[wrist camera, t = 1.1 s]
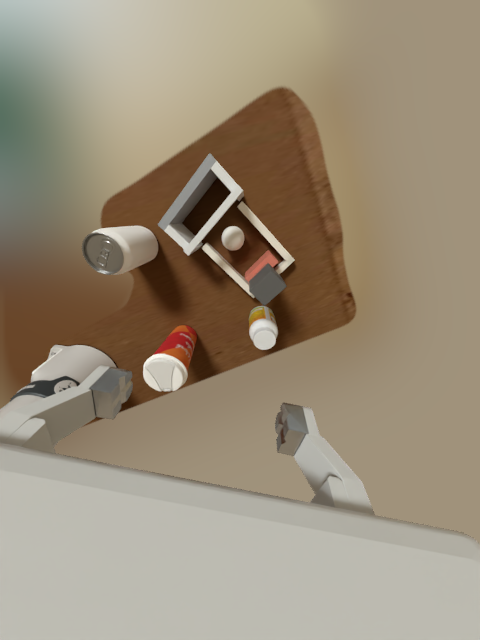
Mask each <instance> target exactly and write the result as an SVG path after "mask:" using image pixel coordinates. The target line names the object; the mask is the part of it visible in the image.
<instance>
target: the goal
mask: <svg viewBox="0 0 480 640" xmlns="http://www.w3.org/2000/svg"><path fill="white" fill-rule="evenodd" d="M217 177H218V179H219V180H220V181H221V182H222V183H223V184H224V185H225V186H226V188H227V189H228V190H229V191H230V192H231V193H230V195H229V196H228V197H227V198H226V200H225V201H224V202H223V203H222V204H221V206H220V207H219V208H218V209H217V210H216V212H215V213H214V214H213V215H212V217H211V218H210V219H209V220H208V221H207V223H206V224H205V225H204V226H203V228H202V229H201V230H200V231H199V232H198V234H197V235H196V236H195V235H194V234H193V233H192V232H191V231H189V230H188V229H187V228H186V227H185V226H184V225H183V224H182V223H183V221H184V220H185V219H186V217H187V216H188V215H189V213H190V212H191V211H192V210H193V208H194V207H195V206H196V204H197V203H198V202H199V201H200V199H201V198H202V197H203V195H204V194H205V193H206V191H207V190H208V189H209V188H210V186H211V185H212V184H213V182H214V181H215V180H216V179H217ZM243 197H244V193H243V190H242V189H241V188H240V186H239V185H237V184H236V182H235V181H234V180H233V179H232V178H231V177H230V176H229V174H228V173H227V172H226V171H225V170H224V169H223V168H222V166H221V165H220V164H219V163H218V162H217V161H216V160H215V158H214V157H213V156H212V155H211V154H210V153H209V155H208V156H207V157H206V159H205V160H204V161H203V163H202V164H201V166H200V167H199V168H198V170H197V171H196V172H195V174H194V175H193V177H192V178H191V179H190V181H189V182H188V184H187V185H186V186H185V188H184V189H183V190H182V192H181V193H180V195H179V196H178V197H177V199H176V200H175V201H174V203H173V204H172V206H171V207H170V208H169V210H168V211H167V212H166V214H165V215H164V217H163V218H162V219H161V221H160V222H159V223H158V225H159V226H160V227H161V228H162V229H163V230H164V231H165V232H166V233H167V234H168V235H169V236H170V237H172V238H173V239H174V240H175V241H176V242H177V243H178V244H179V245H180V246H181V247H182V248H183V249H184V252H185V253H186V254H187V255H188V256H189V255H190V254H192V253H193V252H195V251H196V250H198V249H199V248H200V247H201V246H202V245H203V243H202V242H201V241H202V240H203V239H204V237H205V236H206V235H207V234H208V233H209V231H210V230H211V229H212V228H213V227H214V226H215V224H216V223H217V222H218V221H219V220H220V218H221V217H222V216H223V215H224V214H225V212H226V211H227V210H228V209H229V208H230V207H231V205H232V204H233V203H234V202H235V201H236V199H237V200H238V201H240V200H241V199H242V198H243Z"/></svg>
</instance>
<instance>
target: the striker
mask: <svg viewBox="0 0 480 640" xmlns="http://www.w3.org/2000/svg"><path fill="white" fill-rule="evenodd" d="M277 263H278V261H277V259H276V258H275V257H274V255H273V254H272V253H271V252H270V251H269V250H267V251H266V252H265V253H264V254H263V255H262V256H261V257H260V258H259V259H258V260H257V261H256V262H255V263H254V264H253V265H252V266H251V267H250V268H249V269H248V270H247V271H246V272H245V279H246V280H247V281H248V282H249V292H250V293H252V294H253V295H254V296H255V297H256V298H257V299H258V300H259V301H260V302H261V303H262V304H263V305H264V306H265V305H266V304H267V303H268V302H270V301H271V300H272V299H273V298H274V297H275V296H276V295H277V294H279V293H280V292H281V291H282V290H283V289H284V288H285V287H287V286H286V284H285V282H284V281H283V279H282V277H281V276H280V275H279V274H278V273H277V272H276V270H275V269H274V268H273V267H274V266H275V265H276V264H277Z"/></svg>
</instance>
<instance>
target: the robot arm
mask: <svg viewBox="0 0 480 640" xmlns="http://www.w3.org/2000/svg"><path fill="white" fill-rule="evenodd" d="M32 374H33V375H32V377H31V383H30V384H28V385H27V386H26V387H24V388H22V389H21V390H19V391H18V392H17V394H16V395H14V396H13V397H12V398H11V400H10V402H9V403H8V404H7V405H5V406H4V407H3V408H1V409H0V640H480V543H479V542H477V541H476V540H475V539H474V538H472V537H471V536H469V535H467V534H464V533H462V532H458V531H454V530H449V529H444V528H438V527H433V526H428V525H423V524H418V523H413V522H407V521H402V520H397V519H392V518H386V517H381V516H376V515H375V514H374V511H373V509H372V506H371V504H370V501H369V499H368V496H367V494H366V491H365V489H364V486H363V484H362V482H361V480H360V479H359V478H358V477H357V476H356V475H355V473H354V472H353V471H352V470H351V469H350V468H349V467H348V465H347V464H346V463H345V462H344V461H343V460H342V458H341V457H340V456H339V455H338V454H337V453H336V452H335V450H334V449H333V448H332V447H331V446H330V445H329V443H328V442H327V441H326V440H325V439H324V438H323V437H321V436H320V435H319V431H318V428H317V425H316V421H315V418H314V414H313V411H312V409H311V408H308V407H303V406H298V405H293V404H287V403H283V404H282V405H281V412H279V413H278V415H277V418H276V423H275V424H276V425H275V429H276V433H277V434H278V437H277V450H278V453H282V454H287V455H291V456H294V458H295V460H296V462H297V463H298V465H299V467H300V469H301V470H302V472H303V474H304V475H305V477H306V479H307V481H308V482H309V484H310V486H311V488H312V489H313V491H314V493H315V494H316V495H315V496H314V498H313V499H312V501H311V502H310V503H309V502H303V501H299V500H293V499H288V498H283V497H278V496H273V495H268V494H262V493H257V492H252V491H246V490H242V489H237V488H231V487H226V486H220V485H216V484H210V483H206V482H200V481H195V480H190V479H185V478H179V477H174V476H169V475H164V474H159V473H154V472H148V471H143V470H138V469H133V468H128V467H123V466H117V465H112V464H107V463H102V462H96V461H92V460H86V459H81V458H76V457H71V456H66V455H61V454H56V453H55V450H54V446H55V445H56V444H57V443H58V441H60V440H61V439H63V438H64V437H66V436H68V435H69V434H71V433H72V432H74V431H75V430H77V429H79V428H80V427H82V426H83V425H85V424H86V423H88V422H90V421H91V420H93V419H94V418H96V417H101V418H107V419H114V418H115V416H116V415H117V414H118V412H119V411H120V409H121V404H122V403H124V402H126V401H127V399H128V398H129V396H130V394H131V392H132V387H133V384H132V382H131V381H130V379H131V378H132V372H131V371H128V370H123V369H119V368H117V367H116V365H115V364H114V362H113V361H112V360H111V359H110V358H109V357H108V356H107V355H106V354H104V353H103V352H101V351H99V350H97V349H95V348H93V347H89V346H84V345H74V346H62V345H55V346H54V347H52V348H51V351H50V354H49V357H48V360H47V361H46V362H44V363H43V364H42V365H41V366H39V367H38V368H37V369H36V370H34V371H33V372H32Z"/></svg>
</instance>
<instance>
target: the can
mask: <svg viewBox="0 0 480 640" xmlns="http://www.w3.org/2000/svg"><path fill="white" fill-rule="evenodd" d="M82 252H83V256H84V258H85V260H86V261H87V263H88V264H89V265H90V266H91V267H92V268H93V269H94V270H96V271H97V272H99V273H102V274H107V275H111V274H113V275H118V274H122V273H125V272H127V271H129V270H132V269H134V268H136V267H138V266H141V265H143V264H145V263H147V262H149V261H151V260H153V259H154V258H155V257H156V255H157V253H158V242H157V239H156V237H155V236H154V234H153V233H152V232H151V231H150V230H148V229H147V228H145V227H142V226H125V227H112V228H102V229H98V230H95V231H94V232H92V233H91V234H89V235H87V236H86V237H85V239H84V241H83V244H82Z"/></svg>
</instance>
